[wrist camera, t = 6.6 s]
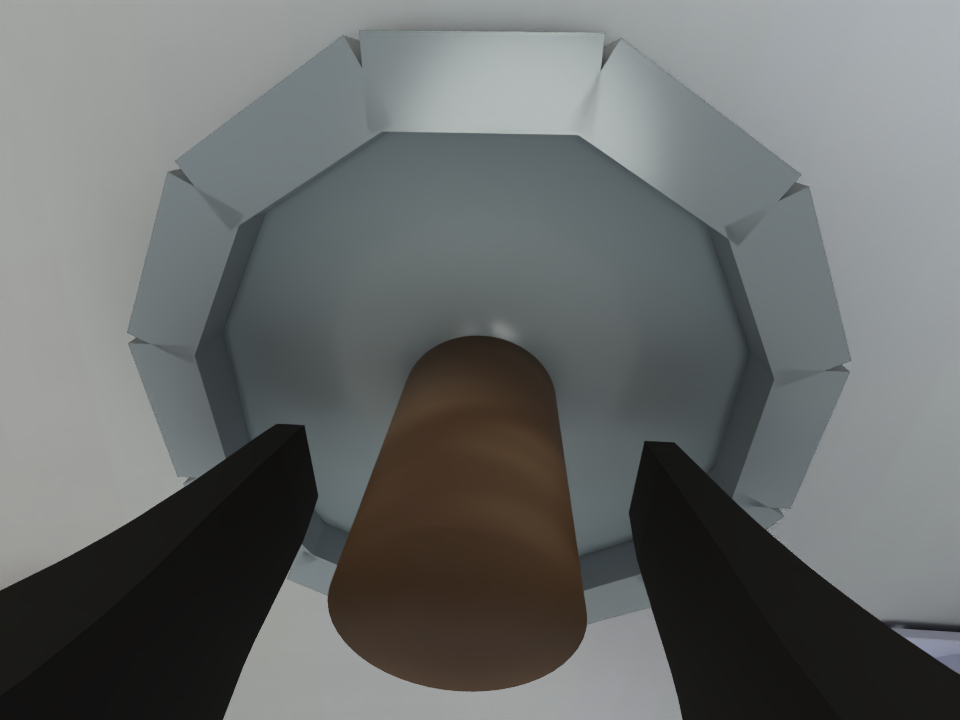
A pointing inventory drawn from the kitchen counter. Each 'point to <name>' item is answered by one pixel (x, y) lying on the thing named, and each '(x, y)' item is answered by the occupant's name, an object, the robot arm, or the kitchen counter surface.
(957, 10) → the kitchen counter surface
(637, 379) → the slate dish
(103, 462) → the kitchen counter surface
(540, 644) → the walnut cylinder
